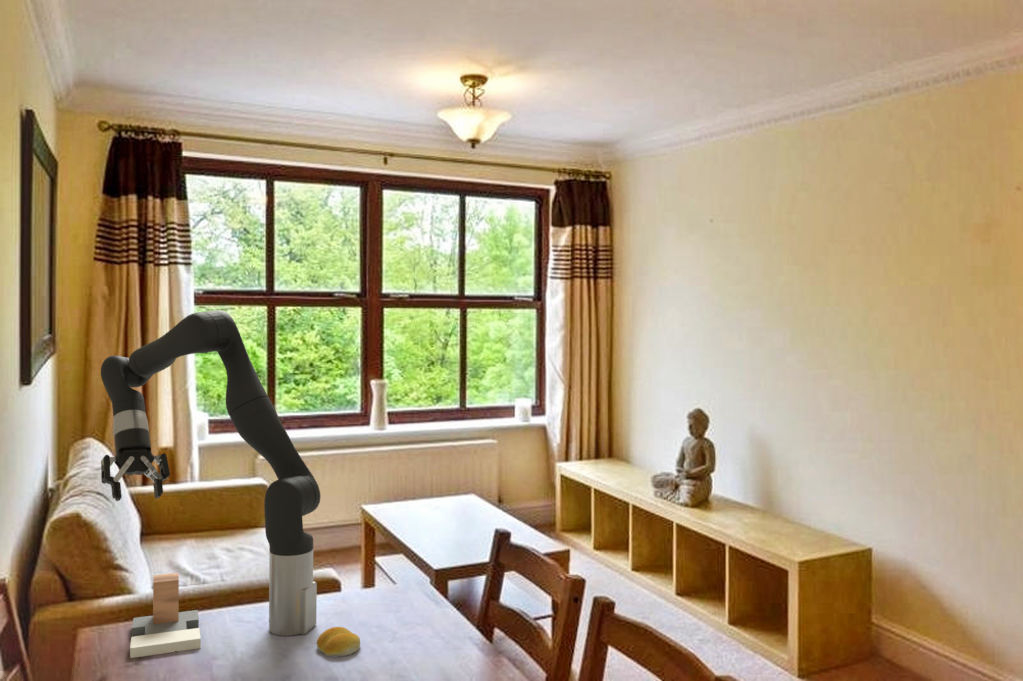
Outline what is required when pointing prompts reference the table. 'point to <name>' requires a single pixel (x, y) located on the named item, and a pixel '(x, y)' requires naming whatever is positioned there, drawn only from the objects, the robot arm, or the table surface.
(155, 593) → the block
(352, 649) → the bread roll
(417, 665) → the table surface
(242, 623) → the table surface
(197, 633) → the pad
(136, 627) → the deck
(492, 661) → the table surface
